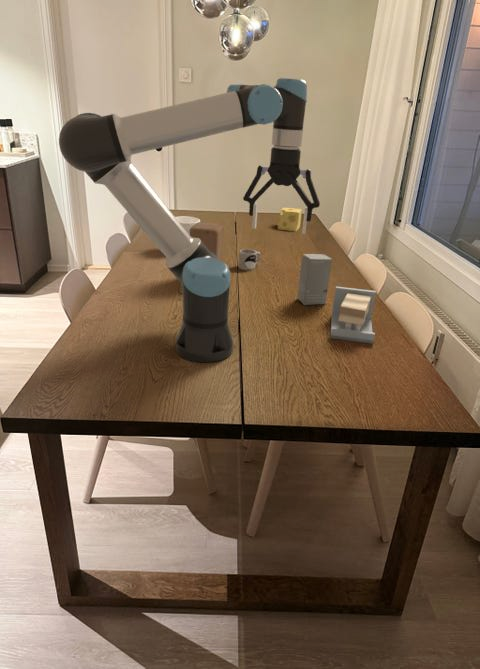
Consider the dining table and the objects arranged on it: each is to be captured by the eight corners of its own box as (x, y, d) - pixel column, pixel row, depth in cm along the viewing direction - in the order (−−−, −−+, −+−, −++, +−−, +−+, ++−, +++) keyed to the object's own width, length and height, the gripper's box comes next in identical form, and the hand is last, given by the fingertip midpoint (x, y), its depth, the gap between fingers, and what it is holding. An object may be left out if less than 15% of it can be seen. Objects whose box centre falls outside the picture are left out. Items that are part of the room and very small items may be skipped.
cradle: (373, 343, 138) (379, 311, 134) (330, 338, 140) (335, 306, 136) (370, 320, 153) (375, 291, 149) (331, 316, 155) (336, 286, 150)
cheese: (277, 229, 253) (279, 210, 249) (281, 225, 262) (283, 206, 258) (297, 232, 251) (299, 212, 246) (300, 227, 260) (303, 208, 255)
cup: (203, 254, 206) (204, 222, 200) (175, 256, 201) (174, 223, 195) (194, 246, 216) (195, 215, 210) (167, 248, 212) (167, 216, 206)
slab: (362, 325, 138) (365, 310, 136) (338, 320, 141) (340, 306, 139) (368, 310, 149) (371, 296, 147) (345, 306, 151) (347, 292, 149)
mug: (245, 271, 189) (246, 254, 187) (235, 266, 194) (235, 250, 191) (264, 267, 195) (266, 251, 192) (254, 262, 200) (255, 247, 197)
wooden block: (215, 286, 173) (217, 230, 164) (188, 283, 174) (188, 227, 165) (221, 277, 182) (224, 224, 173) (196, 274, 183) (196, 221, 174)
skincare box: (303, 305, 161) (309, 259, 154) (295, 297, 167) (300, 253, 160) (327, 304, 163) (333, 258, 156) (318, 296, 169) (324, 252, 162)
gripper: (336, 149, 125) (325, 231, 134) (240, 142, 129) (236, 222, 138) (335, 152, 118) (324, 238, 128) (235, 144, 122) (231, 228, 131)
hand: (278, 230), depth 133 cm, fingers open, 13 cm apart
